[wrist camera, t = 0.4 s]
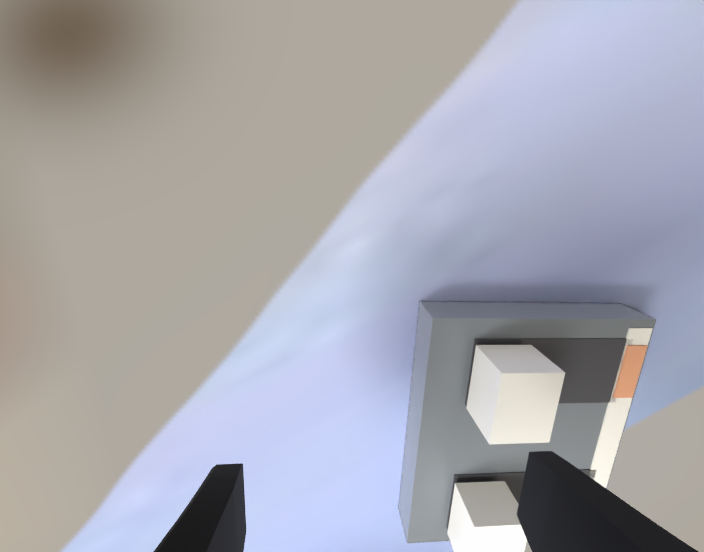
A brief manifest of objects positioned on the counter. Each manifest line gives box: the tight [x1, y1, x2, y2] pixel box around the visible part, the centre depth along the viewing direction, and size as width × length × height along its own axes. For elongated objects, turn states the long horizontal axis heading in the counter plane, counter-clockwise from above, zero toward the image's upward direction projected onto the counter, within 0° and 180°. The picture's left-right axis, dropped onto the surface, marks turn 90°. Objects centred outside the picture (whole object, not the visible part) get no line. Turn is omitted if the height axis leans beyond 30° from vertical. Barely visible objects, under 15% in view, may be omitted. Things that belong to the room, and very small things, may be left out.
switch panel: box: [398, 301, 656, 543], centre depth 18 cm, size 12×10×2 cm
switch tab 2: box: [447, 481, 527, 552], centre depth 17 cm, size 3×2×2 cm
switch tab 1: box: [466, 345, 565, 444], centre depth 15 cm, size 3×2×2 cm
